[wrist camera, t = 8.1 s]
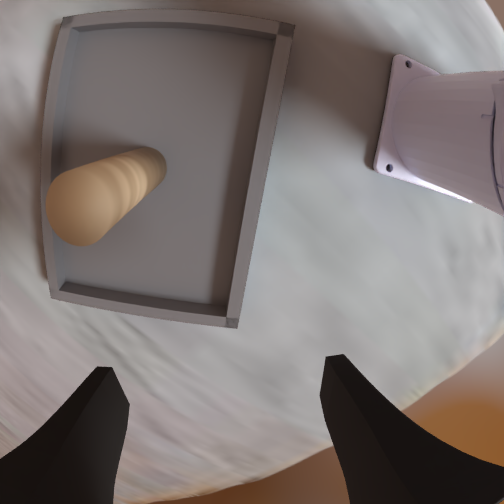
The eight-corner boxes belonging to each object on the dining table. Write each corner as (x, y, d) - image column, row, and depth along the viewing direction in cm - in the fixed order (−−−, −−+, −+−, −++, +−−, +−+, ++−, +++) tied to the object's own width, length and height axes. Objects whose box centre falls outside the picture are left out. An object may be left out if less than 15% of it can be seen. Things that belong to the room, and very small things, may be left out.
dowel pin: (169, 149, 15) (112, 172, 8) (164, 191, 16) (110, 251, 9) (128, 145, 15) (45, 168, 7) (124, 187, 16) (47, 241, 8)
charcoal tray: (288, 34, 14) (295, 25, 12) (236, 312, 21) (237, 328, 19) (76, 24, 12) (63, 17, 10) (61, 285, 19) (51, 298, 17)
